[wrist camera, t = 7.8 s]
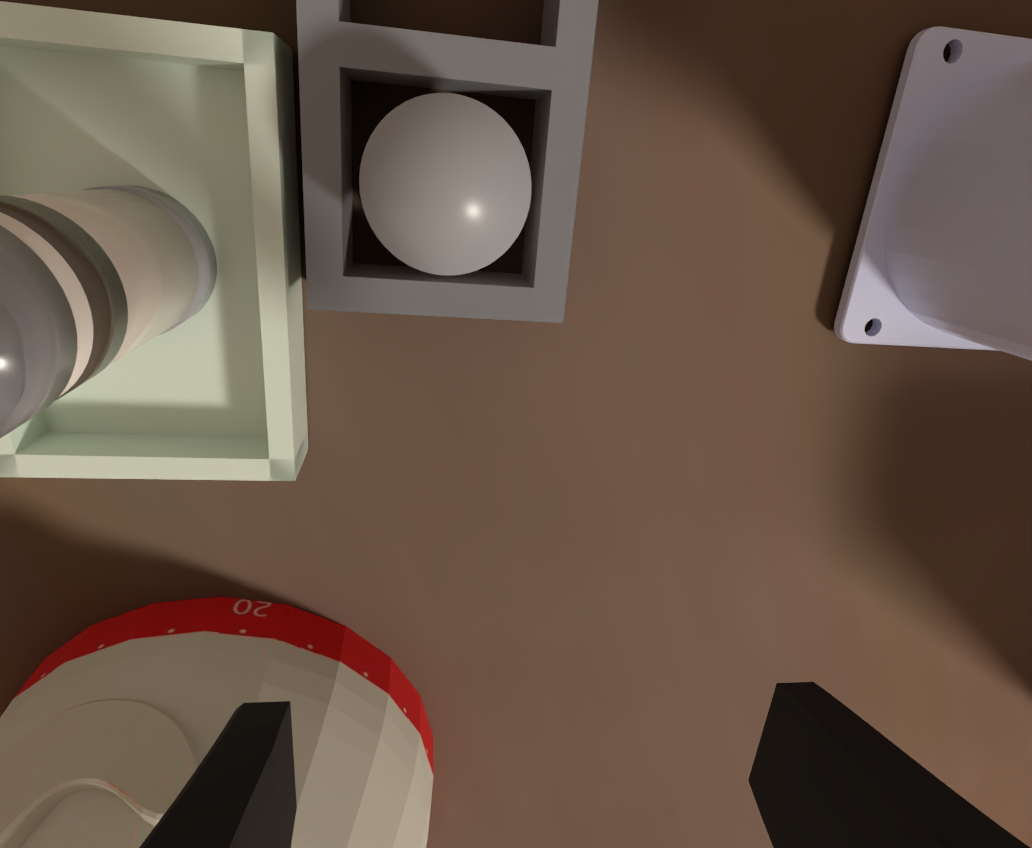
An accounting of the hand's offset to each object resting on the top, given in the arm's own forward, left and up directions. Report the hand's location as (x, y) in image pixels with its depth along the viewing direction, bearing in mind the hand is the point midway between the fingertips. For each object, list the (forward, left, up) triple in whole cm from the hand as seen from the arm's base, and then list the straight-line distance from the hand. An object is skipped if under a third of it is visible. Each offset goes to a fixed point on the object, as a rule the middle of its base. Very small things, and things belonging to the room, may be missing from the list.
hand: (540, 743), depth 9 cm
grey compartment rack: (+2, -10, -10) cm, 15 cm away
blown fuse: (+9, -5, -10) cm, 14 cm away
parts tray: (+9, -5, -10) cm, 14 cm away
